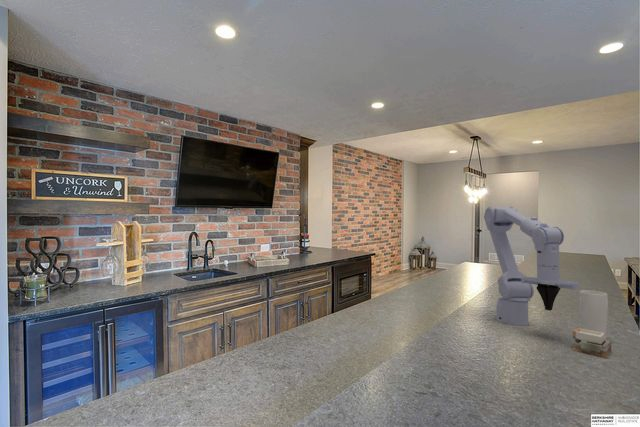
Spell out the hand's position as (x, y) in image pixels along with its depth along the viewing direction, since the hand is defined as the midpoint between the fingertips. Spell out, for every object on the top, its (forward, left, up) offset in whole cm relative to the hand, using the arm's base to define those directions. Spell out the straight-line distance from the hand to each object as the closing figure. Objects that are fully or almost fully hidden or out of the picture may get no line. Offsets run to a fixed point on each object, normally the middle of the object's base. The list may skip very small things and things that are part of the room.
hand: (548, 309), depth 99 cm
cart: (+10, -4, -7) cm, 13 cm away
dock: (+5, -4, -9) cm, 11 cm away
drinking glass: (+9, +9, -10) cm, 16 cm away
